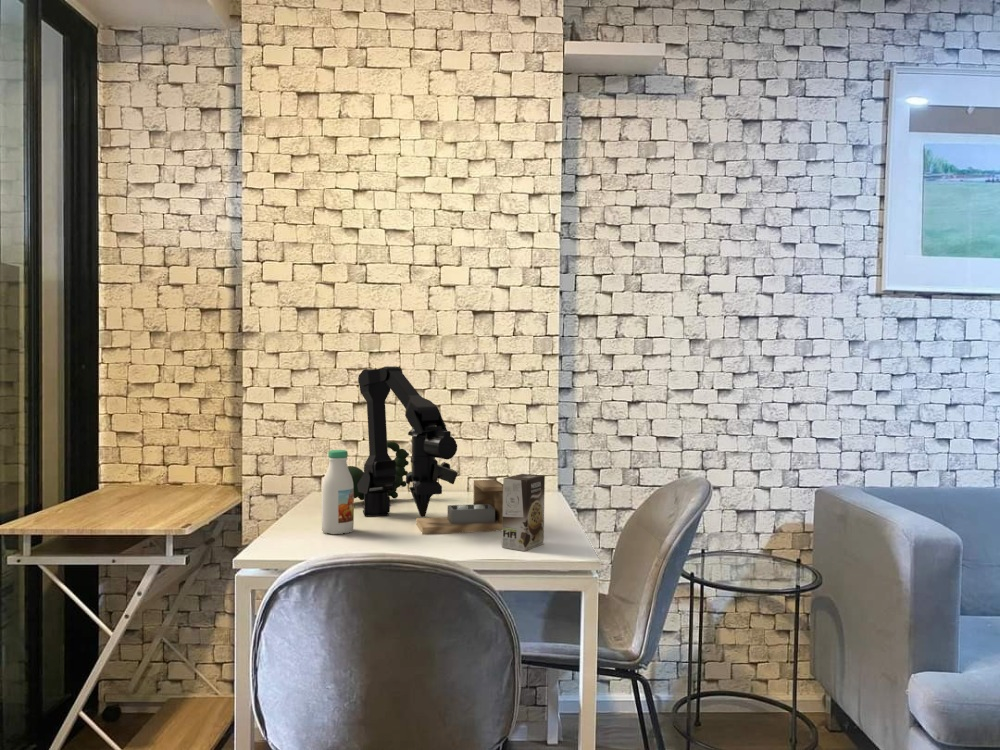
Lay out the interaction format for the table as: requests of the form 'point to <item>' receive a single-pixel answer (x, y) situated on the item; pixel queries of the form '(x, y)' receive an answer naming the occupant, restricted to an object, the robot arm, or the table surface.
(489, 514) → the tray
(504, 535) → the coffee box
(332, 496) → the milk bottle
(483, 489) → the wooden l-shaped stand
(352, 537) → the table surface
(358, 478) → the toy figurine
